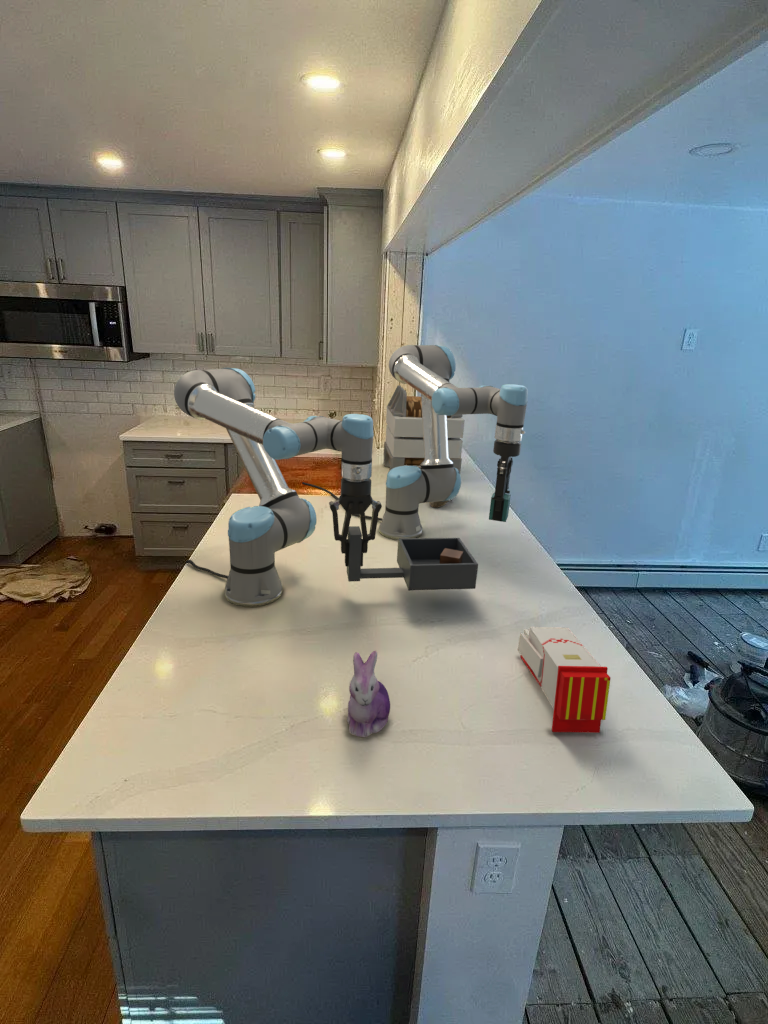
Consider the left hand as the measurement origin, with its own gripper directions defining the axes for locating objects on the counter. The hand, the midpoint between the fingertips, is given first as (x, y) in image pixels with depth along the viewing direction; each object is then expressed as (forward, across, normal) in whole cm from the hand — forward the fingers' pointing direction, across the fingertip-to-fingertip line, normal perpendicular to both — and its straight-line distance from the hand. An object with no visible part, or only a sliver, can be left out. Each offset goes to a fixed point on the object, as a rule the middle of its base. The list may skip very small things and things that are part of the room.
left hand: (353, 563), depth 148 cm
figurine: (+11, -2, -47) cm, 48 cm away
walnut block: (+3, +25, -4) cm, 26 cm away
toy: (+11, +39, -40) cm, 57 cm away
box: (+4, +15, 0) cm, 15 cm away
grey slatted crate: (+12, +45, +125) cm, 133 cm away
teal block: (-6, +45, +17) cm, 48 cm away
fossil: (+11, +46, +83) cm, 95 cm away
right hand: (-6, +45, +17) cm, 48 cm away
